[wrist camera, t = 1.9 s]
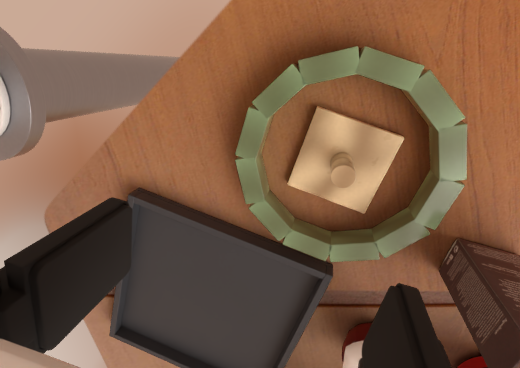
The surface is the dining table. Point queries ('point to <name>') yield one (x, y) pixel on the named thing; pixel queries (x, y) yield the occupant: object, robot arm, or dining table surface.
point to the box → (487, 298)
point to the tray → (212, 290)
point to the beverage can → (474, 363)
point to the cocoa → (354, 346)
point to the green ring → (428, 195)
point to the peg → (343, 159)
